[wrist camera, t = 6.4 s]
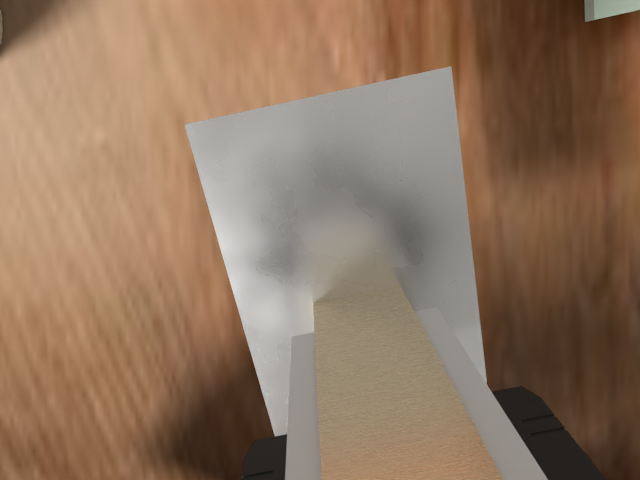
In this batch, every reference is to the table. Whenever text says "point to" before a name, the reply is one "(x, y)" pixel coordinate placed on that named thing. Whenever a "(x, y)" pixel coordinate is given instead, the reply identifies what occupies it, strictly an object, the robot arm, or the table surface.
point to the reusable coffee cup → (1, 27)
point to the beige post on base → (354, 267)
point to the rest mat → (608, 8)
